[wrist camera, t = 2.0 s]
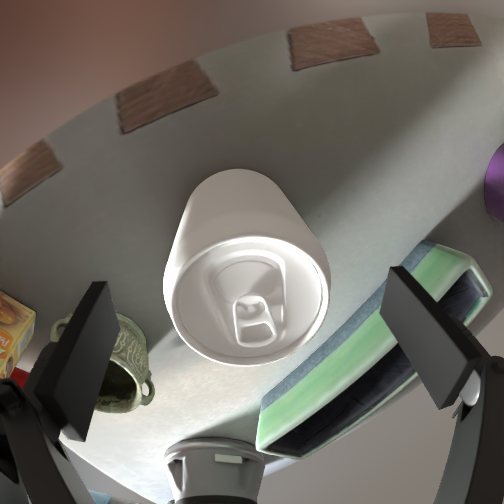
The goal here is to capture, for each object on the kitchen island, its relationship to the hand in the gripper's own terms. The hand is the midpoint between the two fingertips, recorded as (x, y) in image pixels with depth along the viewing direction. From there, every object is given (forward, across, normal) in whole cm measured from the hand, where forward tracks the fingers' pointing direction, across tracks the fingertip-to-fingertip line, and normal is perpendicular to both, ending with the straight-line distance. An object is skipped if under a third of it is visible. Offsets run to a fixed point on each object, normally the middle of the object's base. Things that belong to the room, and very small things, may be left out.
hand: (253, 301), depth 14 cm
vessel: (+12, +13, +12) cm, 21 cm away
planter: (+12, -12, +14) cm, 22 cm away
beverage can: (+12, 0, 0) cm, 12 cm away
